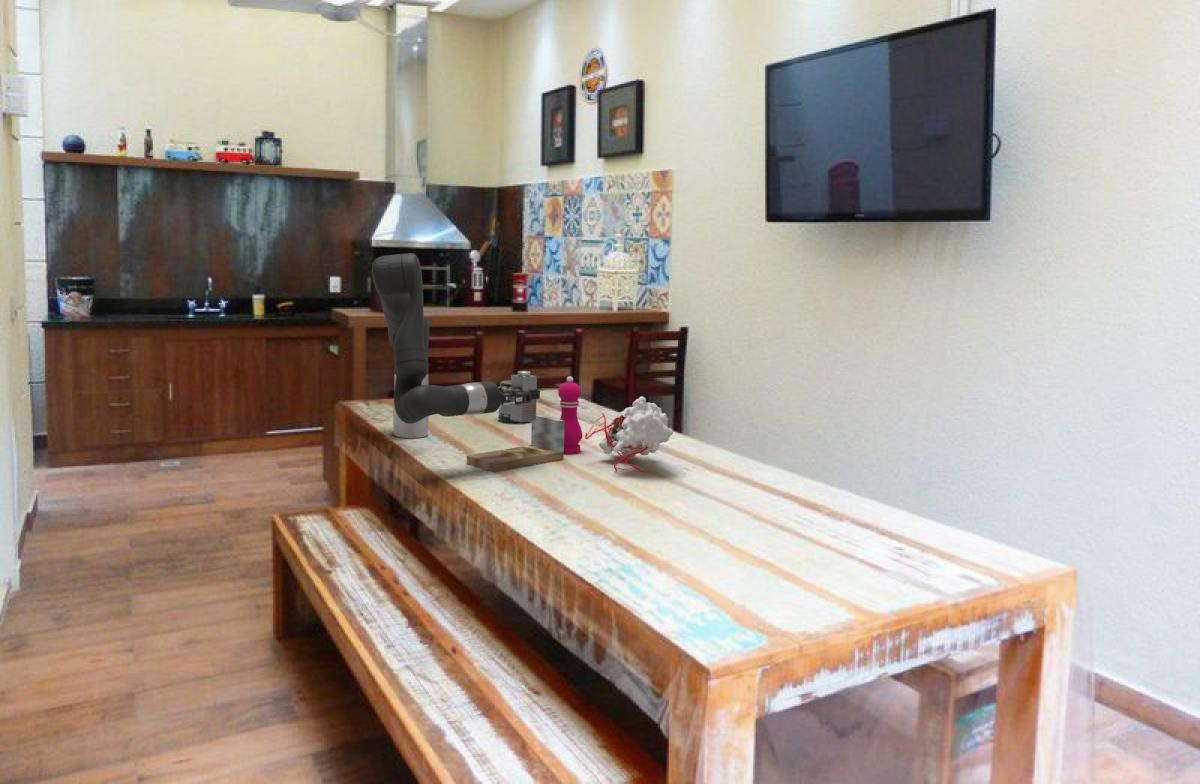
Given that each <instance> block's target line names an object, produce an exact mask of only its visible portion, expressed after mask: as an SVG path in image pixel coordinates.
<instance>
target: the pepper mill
mask: <svg viewBox="0 0 1200 784" xmlns="http://www.w3.org/2000/svg"><path fill="white" fill-rule="evenodd" d="M581 389H582V388H581V387H580V385H579V384H578V383H576V382H574V378H573V376H567V377H566V382H563V383H561V384H560V386H559V387H558V390H557V394H558V397H559V398H560V400H559V407H560V408H561V409H560V410H561V412H560V413H561V414H560V418H559V419H560V420H564V455H574V454H575V455H576V454H579V453H581V445H580V442H581V440H583V431H582V427H581V425H580V422H579V419H578V407H579V406H580V404H579V403H580V401H579V399H580V397H581V396H582V390H581Z"/></svg>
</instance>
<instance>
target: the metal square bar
mask: <svg viewBox="0 0 1200 784" xmlns="http://www.w3.org/2000/svg"><path fill="white" fill-rule="evenodd" d="M510 380H511V389H519V390H520V391H525V390H527V391H529V390H538V389H537V388H538V376H537V375H533V374H531V371H530V370H529V371H528V370H518V371H517V374H512V375H510ZM514 393H515V394H516V392H514ZM536 414H537V399H533V400H531V402H530V403H525V404H520V405H515V404H511V405H510V420H514V421H519V422H528V421H530V422H532V421H536ZM528 423H529V422H528Z"/></svg>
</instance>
